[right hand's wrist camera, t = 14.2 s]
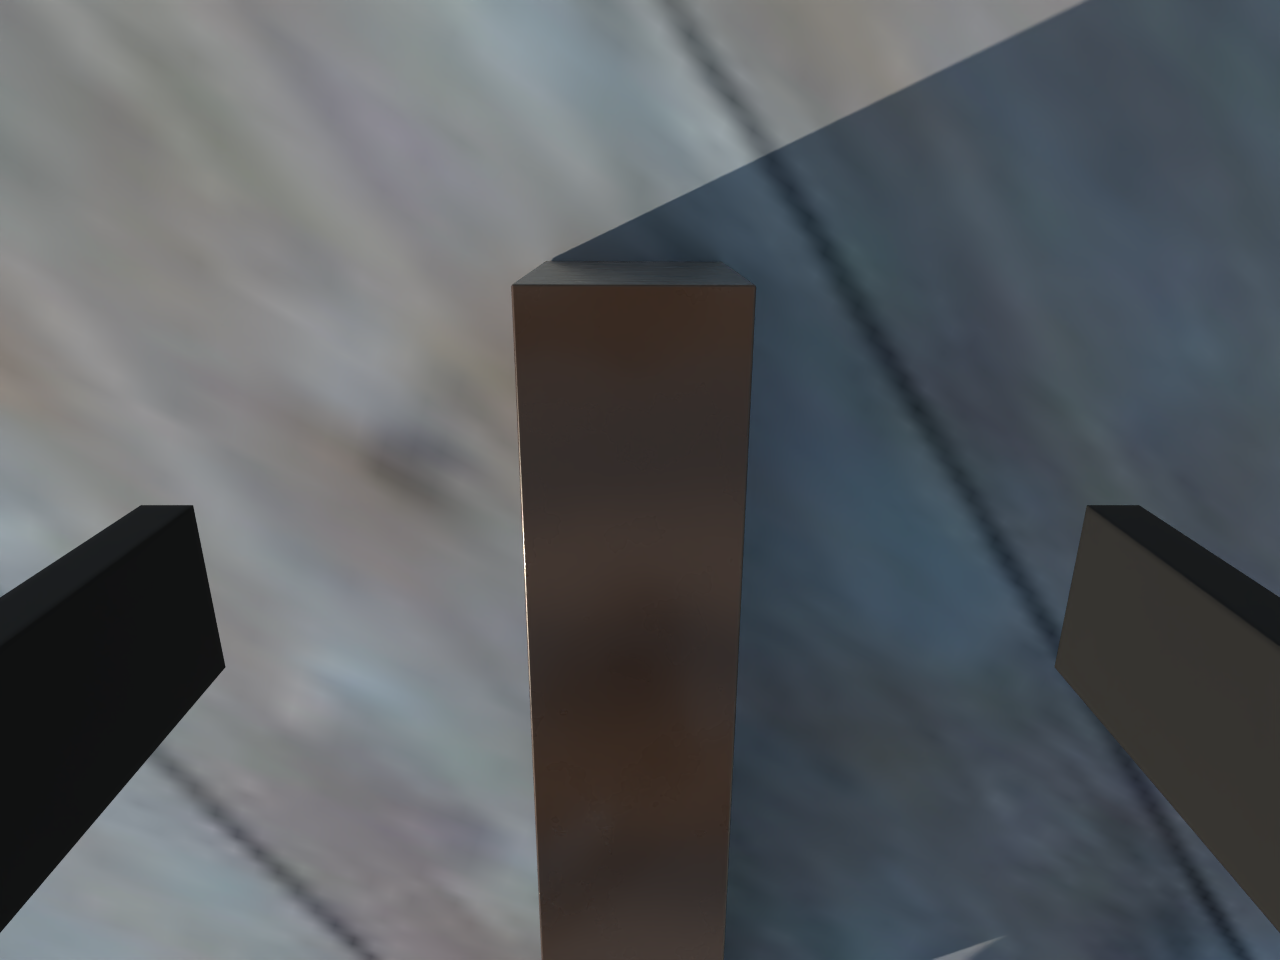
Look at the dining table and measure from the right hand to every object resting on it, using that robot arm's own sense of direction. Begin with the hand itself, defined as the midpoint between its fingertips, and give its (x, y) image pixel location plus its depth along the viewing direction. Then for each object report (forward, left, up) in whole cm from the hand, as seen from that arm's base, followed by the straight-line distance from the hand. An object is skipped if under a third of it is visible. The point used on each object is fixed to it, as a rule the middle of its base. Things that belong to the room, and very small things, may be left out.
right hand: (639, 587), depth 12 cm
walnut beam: (+13, +7, -17) cm, 23 cm away
